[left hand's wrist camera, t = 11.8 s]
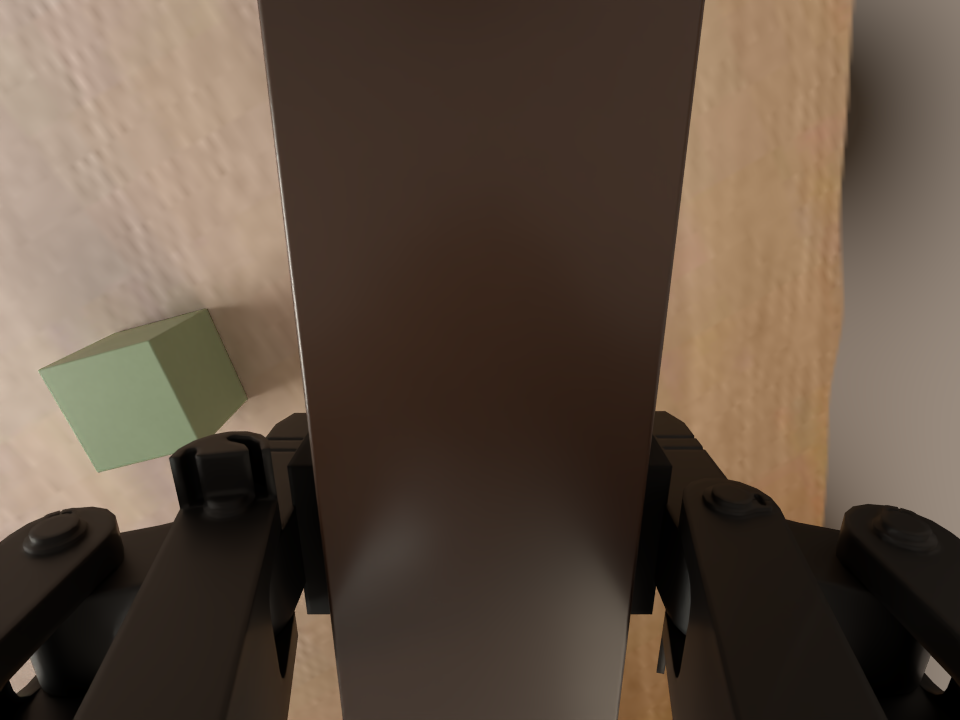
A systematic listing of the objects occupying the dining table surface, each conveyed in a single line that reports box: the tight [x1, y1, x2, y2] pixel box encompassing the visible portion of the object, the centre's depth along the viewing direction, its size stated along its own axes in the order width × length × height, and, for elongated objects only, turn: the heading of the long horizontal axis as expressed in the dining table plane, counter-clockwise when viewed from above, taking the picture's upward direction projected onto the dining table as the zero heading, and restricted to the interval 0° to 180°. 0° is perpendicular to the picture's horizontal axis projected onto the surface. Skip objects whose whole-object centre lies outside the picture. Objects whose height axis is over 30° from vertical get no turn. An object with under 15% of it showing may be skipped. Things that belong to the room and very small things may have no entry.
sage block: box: [38, 309, 247, 472], centre depth 25 cm, size 5×5×5 cm
